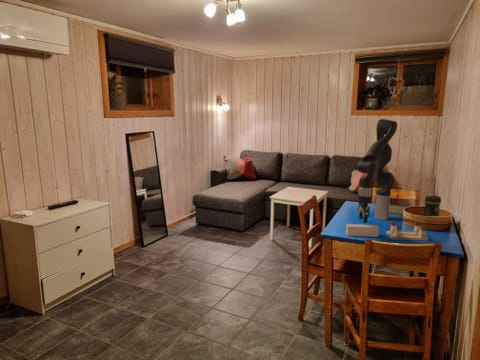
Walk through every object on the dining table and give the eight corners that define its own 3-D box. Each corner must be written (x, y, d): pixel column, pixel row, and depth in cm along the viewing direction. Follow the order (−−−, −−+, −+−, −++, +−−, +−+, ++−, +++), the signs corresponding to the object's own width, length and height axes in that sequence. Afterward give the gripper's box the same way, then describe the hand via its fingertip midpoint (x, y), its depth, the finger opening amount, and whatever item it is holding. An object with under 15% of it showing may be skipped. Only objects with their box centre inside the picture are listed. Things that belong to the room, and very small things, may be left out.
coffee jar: (430, 225, 227) (433, 197, 223) (420, 221, 234) (422, 195, 231) (440, 223, 230) (443, 196, 227) (430, 220, 237) (433, 194, 234)
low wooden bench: (386, 233, 210) (387, 220, 209) (419, 234, 209) (421, 221, 208) (393, 239, 199) (394, 226, 198) (428, 240, 198) (429, 227, 197)
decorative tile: (408, 217, 245) (409, 213, 244) (379, 212, 257) (380, 208, 257) (415, 212, 259) (415, 207, 258) (387, 207, 272) (387, 203, 271)
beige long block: (345, 233, 211) (346, 224, 210) (375, 234, 209) (376, 225, 208) (347, 236, 206) (347, 226, 205) (378, 237, 204) (378, 227, 203)
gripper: (355, 192, 210) (353, 217, 213) (361, 197, 196) (360, 224, 199) (367, 192, 210) (365, 217, 213) (375, 197, 196) (373, 224, 199)
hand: (363, 220), depth 206 cm, fingers open, 8 cm apart
